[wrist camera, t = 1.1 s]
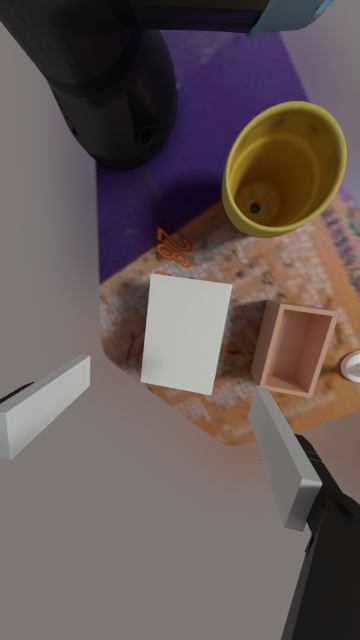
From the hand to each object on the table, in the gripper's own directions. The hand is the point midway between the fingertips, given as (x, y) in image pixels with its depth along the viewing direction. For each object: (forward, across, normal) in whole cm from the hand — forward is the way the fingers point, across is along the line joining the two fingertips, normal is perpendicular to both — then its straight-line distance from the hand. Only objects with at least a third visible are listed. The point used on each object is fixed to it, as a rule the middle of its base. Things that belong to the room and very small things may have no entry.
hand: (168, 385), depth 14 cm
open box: (+17, +15, 0) cm, 22 cm away
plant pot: (+17, +7, +18) cm, 26 cm away
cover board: (+12, 0, +1) cm, 12 cm away
